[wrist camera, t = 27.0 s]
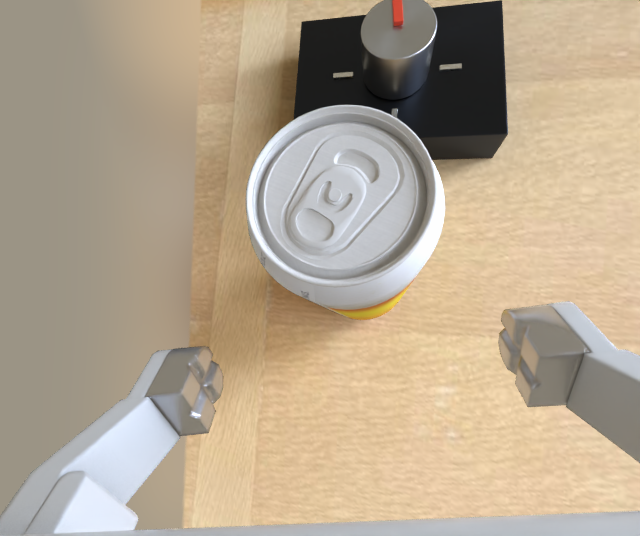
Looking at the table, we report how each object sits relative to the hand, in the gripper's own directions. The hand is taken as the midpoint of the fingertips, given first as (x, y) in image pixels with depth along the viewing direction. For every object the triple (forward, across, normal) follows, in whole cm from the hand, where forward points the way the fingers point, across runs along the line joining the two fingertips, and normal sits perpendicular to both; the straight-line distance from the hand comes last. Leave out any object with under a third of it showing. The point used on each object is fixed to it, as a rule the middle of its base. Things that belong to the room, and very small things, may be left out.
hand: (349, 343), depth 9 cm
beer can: (+13, 0, +7) cm, 15 cm away
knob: (+20, -5, -5) cm, 21 cm away
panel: (+22, -5, -2) cm, 23 cm away
